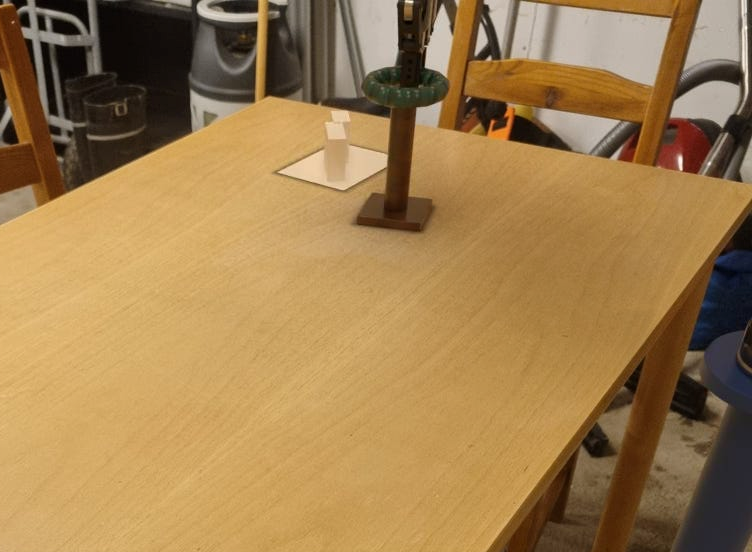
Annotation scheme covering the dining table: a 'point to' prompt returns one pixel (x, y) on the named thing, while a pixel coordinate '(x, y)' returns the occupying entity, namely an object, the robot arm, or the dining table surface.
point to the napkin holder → (338, 158)
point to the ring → (425, 95)
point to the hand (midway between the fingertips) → (411, 84)
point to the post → (397, 181)
